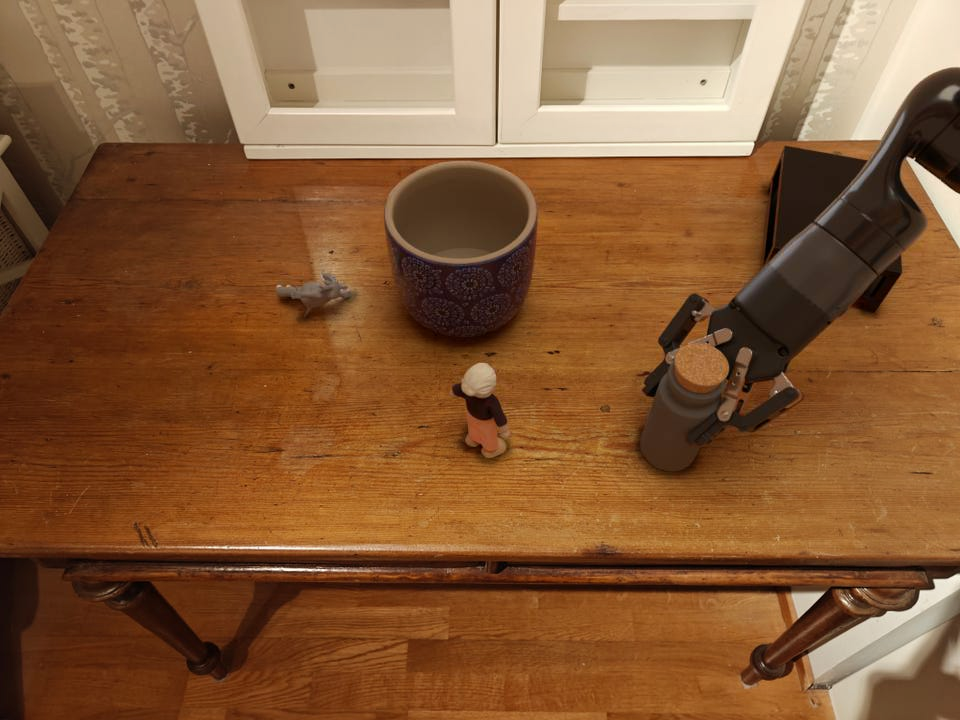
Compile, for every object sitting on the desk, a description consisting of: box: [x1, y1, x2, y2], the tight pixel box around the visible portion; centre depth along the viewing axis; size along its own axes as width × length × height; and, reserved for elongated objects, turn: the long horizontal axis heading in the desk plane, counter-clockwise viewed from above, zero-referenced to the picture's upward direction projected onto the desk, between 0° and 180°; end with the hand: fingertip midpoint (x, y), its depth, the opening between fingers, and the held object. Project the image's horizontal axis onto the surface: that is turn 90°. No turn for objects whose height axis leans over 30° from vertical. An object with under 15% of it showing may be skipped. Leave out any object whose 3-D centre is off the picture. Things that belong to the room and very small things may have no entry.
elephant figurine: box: [275, 268, 353, 319], centre depth 84 cm, size 10×6×9 cm
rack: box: [760, 145, 903, 314], centre depth 89 cm, size 14×20×7 cm
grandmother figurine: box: [449, 362, 511, 459], centre depth 69 cm, size 8×4×13 cm, turn 59°
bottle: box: [639, 343, 729, 472], centre depth 68 cm, size 6×6×15 cm
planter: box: [383, 160, 539, 338], centre depth 80 cm, size 16×17×15 cm
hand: (669, 418), depth 67 cm, fingers closed on bottle, 6 cm apart
